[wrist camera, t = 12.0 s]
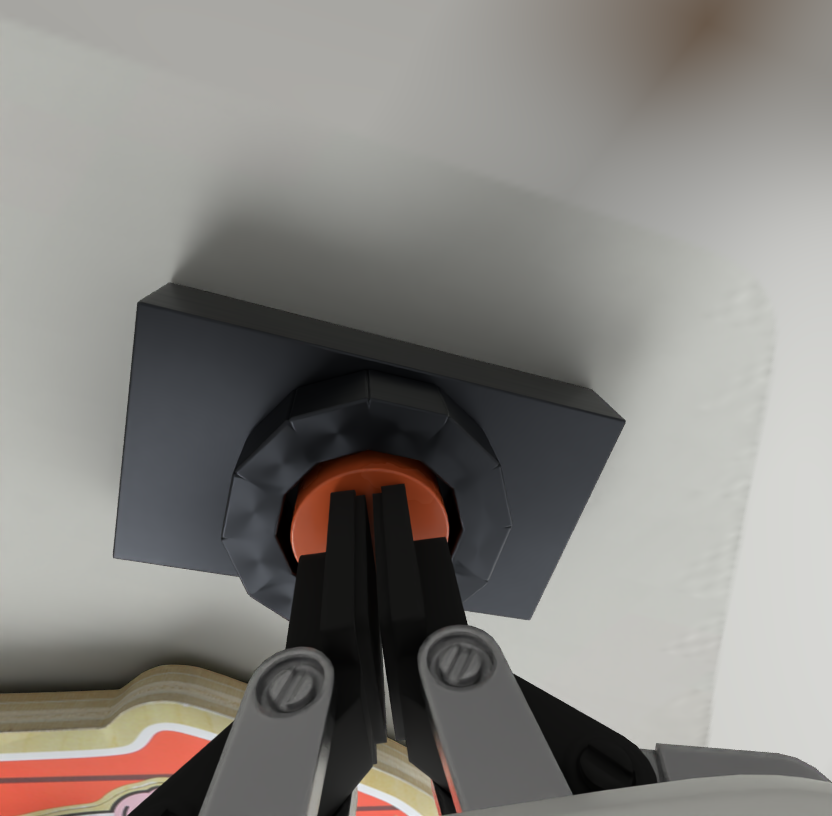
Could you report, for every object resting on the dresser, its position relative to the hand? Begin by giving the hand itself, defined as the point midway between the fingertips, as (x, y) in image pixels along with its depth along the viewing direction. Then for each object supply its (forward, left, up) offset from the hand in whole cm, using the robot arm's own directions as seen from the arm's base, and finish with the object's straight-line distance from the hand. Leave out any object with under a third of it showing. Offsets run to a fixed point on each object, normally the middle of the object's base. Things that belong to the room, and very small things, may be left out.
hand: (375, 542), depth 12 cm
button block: (0, 0, -4) cm, 4 cm away
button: (0, 0, -2) cm, 2 cm away
